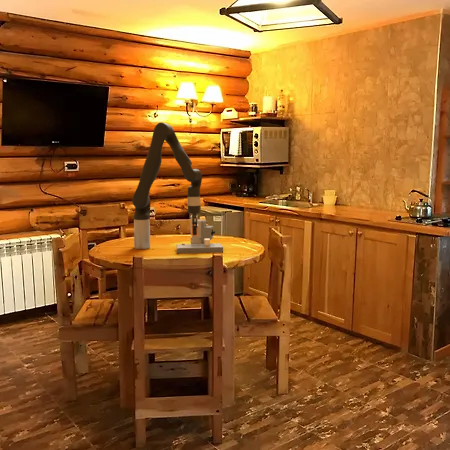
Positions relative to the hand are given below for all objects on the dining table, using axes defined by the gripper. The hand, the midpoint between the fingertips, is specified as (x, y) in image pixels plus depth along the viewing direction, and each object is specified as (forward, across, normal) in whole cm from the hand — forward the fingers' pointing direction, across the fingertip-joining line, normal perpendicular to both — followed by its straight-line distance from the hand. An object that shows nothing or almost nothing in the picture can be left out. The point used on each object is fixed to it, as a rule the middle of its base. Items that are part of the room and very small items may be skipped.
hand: (194, 234), depth 293 cm
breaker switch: (+7, 0, -7) cm, 10 cm away
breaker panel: (+10, 0, -3) cm, 10 cm away
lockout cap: (+1, 0, 0) cm, 1 cm away
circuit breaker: (+10, +20, -7) cm, 23 cm away
